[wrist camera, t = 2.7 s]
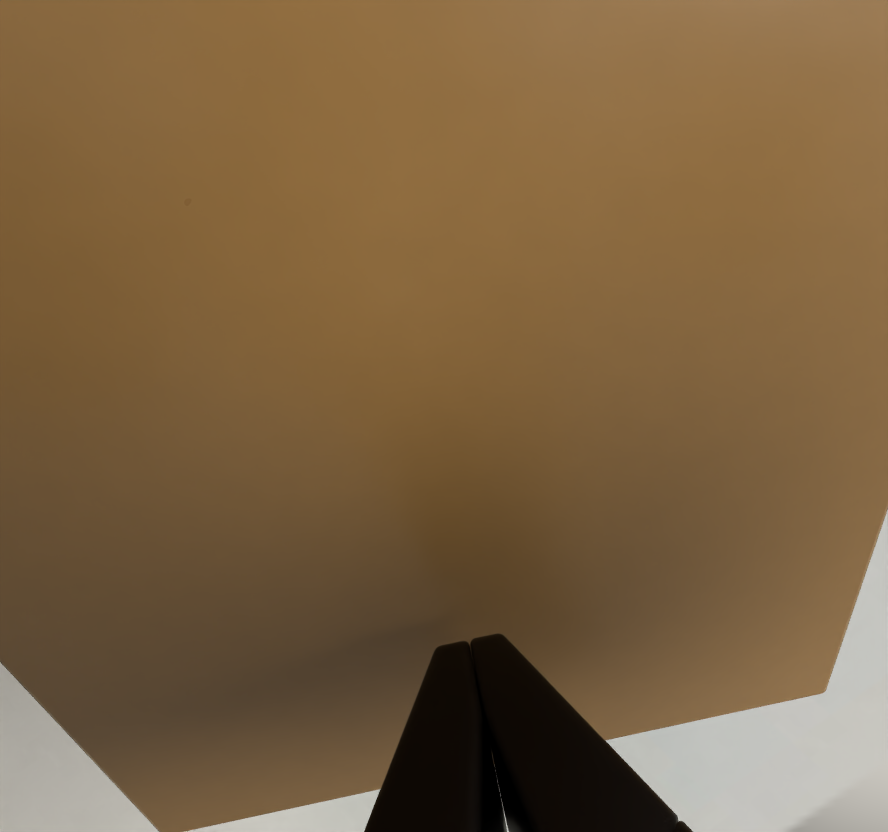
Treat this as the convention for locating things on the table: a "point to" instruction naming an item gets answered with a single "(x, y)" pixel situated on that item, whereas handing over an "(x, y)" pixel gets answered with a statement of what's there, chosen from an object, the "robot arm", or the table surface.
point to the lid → (430, 367)
